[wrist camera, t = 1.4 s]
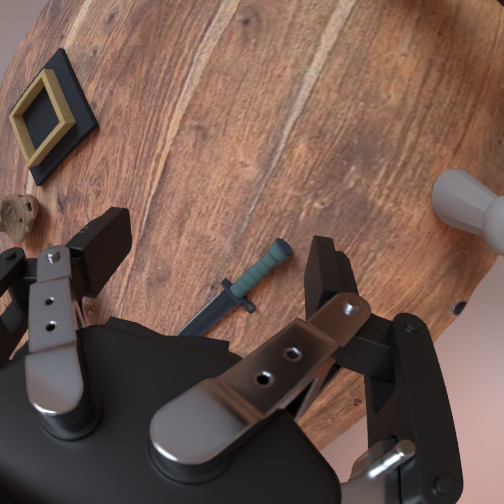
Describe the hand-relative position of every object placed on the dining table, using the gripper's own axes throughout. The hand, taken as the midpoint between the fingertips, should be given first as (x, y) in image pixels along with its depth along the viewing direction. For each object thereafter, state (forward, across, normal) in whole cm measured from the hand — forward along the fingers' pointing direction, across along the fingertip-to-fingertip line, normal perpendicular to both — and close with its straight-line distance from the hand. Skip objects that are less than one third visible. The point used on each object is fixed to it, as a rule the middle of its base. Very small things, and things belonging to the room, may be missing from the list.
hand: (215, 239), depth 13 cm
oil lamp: (+21, +35, +13) cm, 43 cm away
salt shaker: (+17, -20, 0) cm, 27 cm away
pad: (+22, +29, -2) cm, 37 cm away
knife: (+16, +2, +19) cm, 25 cm away
